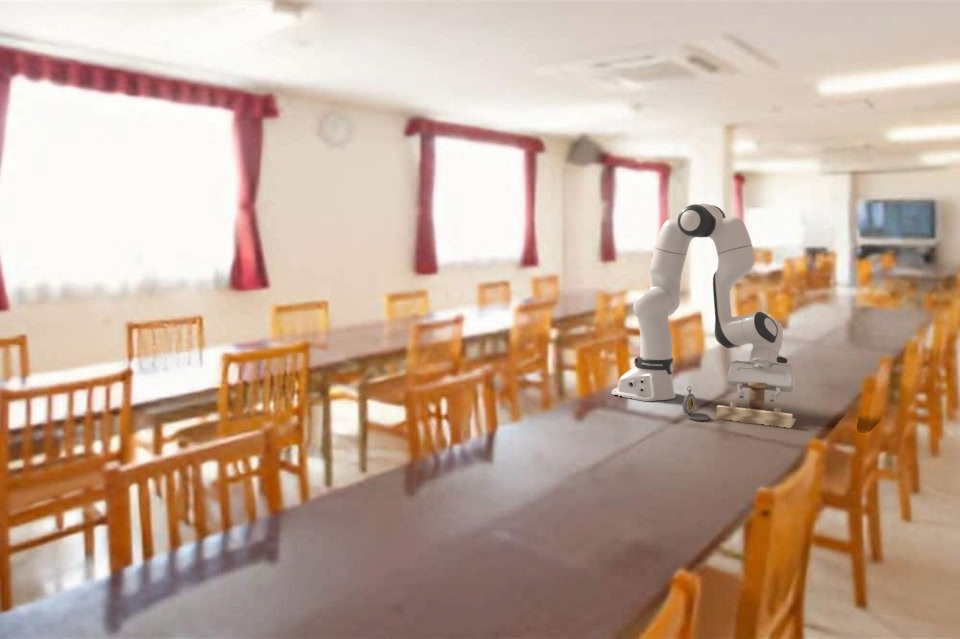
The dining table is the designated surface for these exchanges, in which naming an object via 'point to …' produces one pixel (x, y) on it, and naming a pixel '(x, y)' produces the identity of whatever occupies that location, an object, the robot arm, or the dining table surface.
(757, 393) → the flanged spool
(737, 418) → the peg rack
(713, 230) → the robot arm
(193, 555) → the dining table surface
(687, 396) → the pocket watch
